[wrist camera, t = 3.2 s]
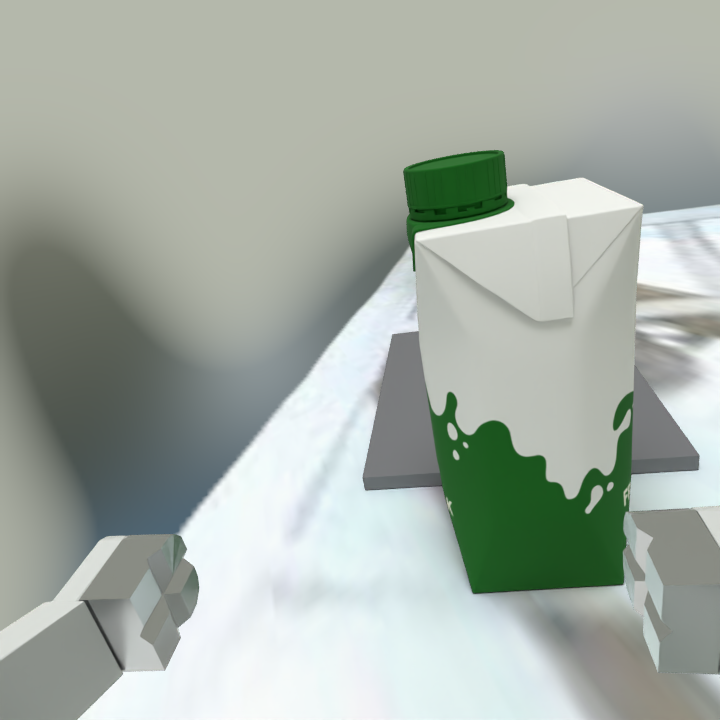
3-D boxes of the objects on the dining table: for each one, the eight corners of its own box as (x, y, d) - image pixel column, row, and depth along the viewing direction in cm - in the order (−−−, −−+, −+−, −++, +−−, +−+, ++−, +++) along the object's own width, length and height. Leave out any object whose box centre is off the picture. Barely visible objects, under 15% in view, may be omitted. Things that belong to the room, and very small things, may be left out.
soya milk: (445, 493, 34) (396, 160, 26) (597, 480, 33) (595, 123, 25) (455, 611, 26) (389, 185, 18) (655, 600, 25) (679, 133, 17)
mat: (595, 319, 54) (595, 310, 53) (698, 469, 32) (699, 455, 32) (393, 343, 57) (392, 334, 57) (365, 490, 36) (362, 477, 36)
